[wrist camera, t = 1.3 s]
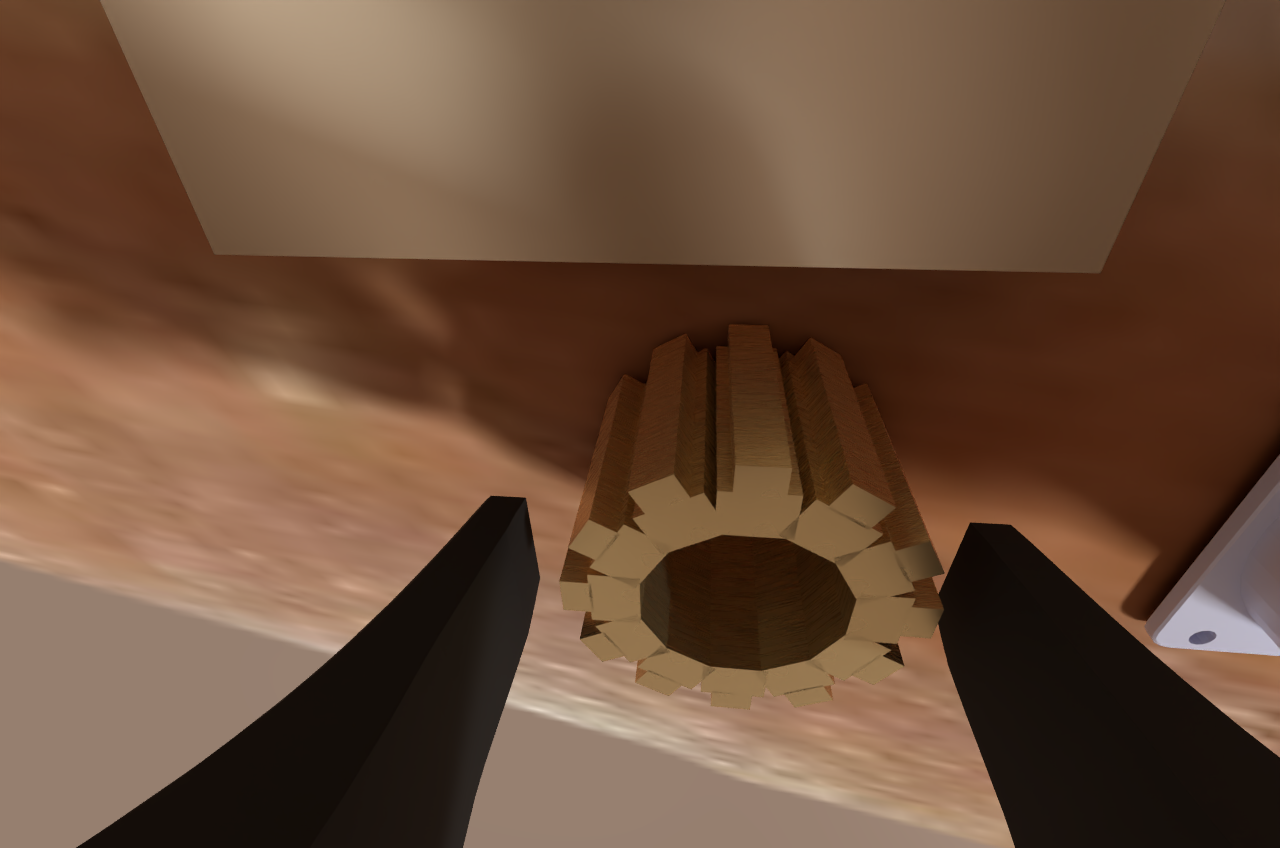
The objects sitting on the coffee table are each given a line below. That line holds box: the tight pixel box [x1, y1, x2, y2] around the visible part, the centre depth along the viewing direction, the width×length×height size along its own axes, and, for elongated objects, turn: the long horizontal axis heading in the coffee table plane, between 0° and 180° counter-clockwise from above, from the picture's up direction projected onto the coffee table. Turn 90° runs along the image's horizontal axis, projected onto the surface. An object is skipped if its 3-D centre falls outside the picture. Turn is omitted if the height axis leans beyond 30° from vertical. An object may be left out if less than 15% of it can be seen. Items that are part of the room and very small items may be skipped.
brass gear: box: [559, 324, 944, 710], centre depth 11 cm, size 6×6×4 cm
